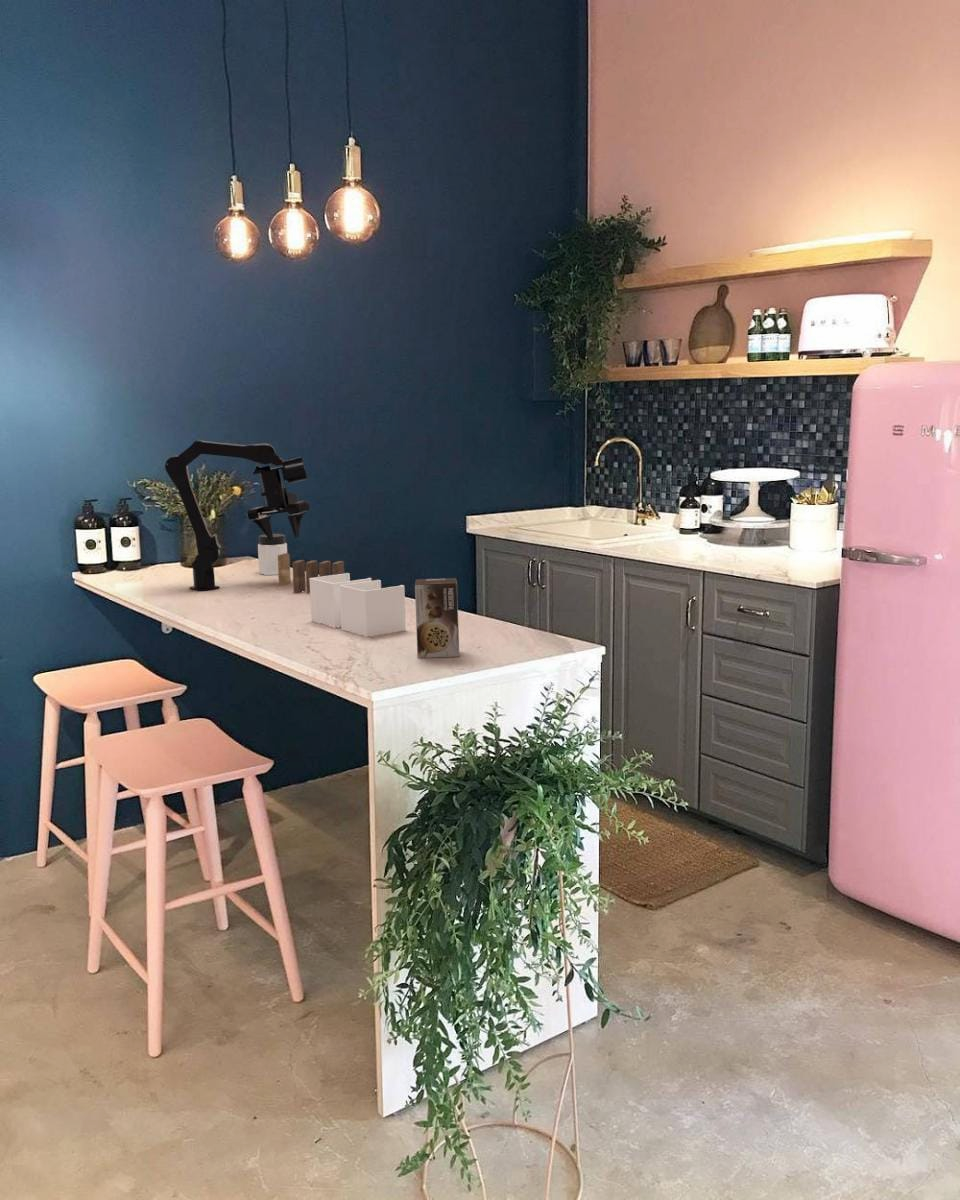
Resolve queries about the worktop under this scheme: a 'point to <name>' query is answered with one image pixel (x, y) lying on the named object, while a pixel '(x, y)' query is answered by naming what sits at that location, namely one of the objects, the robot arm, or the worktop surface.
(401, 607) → the white open box
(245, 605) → the worktop surface
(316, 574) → the domino
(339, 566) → the domino
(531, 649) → the worktop surface
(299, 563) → the domino
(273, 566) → the jar
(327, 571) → the domino
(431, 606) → the coffee box
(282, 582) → the domino
